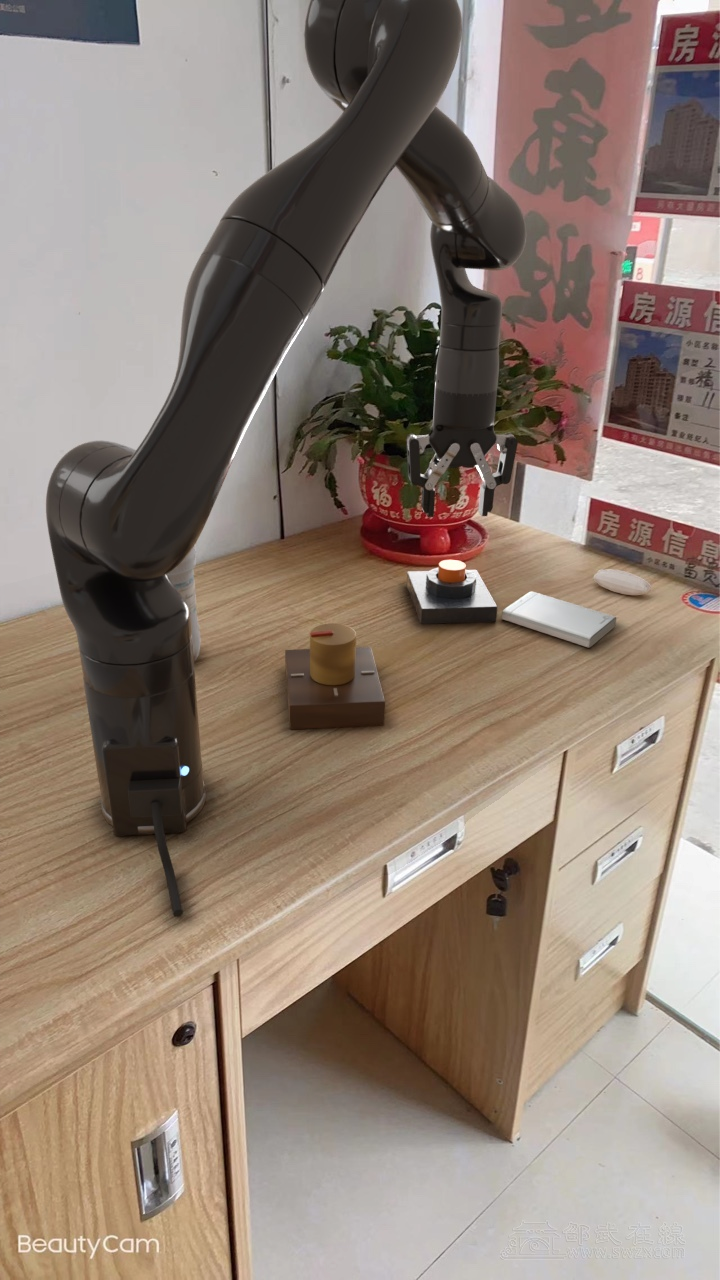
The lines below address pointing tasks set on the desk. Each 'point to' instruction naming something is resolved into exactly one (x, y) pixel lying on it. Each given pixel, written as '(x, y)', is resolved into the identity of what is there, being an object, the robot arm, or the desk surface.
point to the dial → (332, 654)
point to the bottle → (188, 594)
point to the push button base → (450, 598)
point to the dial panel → (333, 694)
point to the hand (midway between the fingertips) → (456, 514)
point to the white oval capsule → (622, 582)
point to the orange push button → (451, 571)
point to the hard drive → (559, 618)
